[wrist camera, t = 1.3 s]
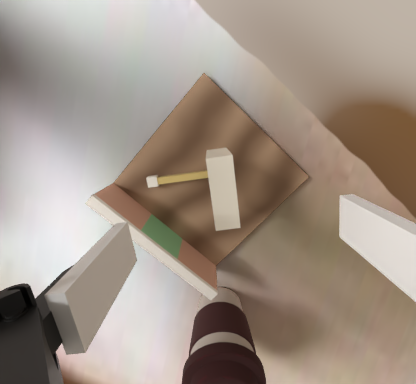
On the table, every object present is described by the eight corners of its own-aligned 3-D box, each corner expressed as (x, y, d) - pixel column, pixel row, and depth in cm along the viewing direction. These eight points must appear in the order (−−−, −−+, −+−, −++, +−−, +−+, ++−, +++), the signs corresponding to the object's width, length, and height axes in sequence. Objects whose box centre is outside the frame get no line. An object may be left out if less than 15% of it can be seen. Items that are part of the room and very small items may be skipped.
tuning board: (110, 188, 35) (106, 190, 34) (204, 74, 31) (204, 72, 30) (209, 268, 39) (209, 272, 38) (305, 175, 35) (309, 176, 34)
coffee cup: (234, 270, 39) (249, 354, 25) (256, 315, 41) (282, 416, 27) (180, 291, 40) (164, 384, 26) (205, 334, 42) (203, 441, 28)
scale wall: (108, 189, 34) (85, 203, 28) (113, 182, 34) (91, 195, 28) (210, 271, 38) (210, 300, 31) (216, 265, 37) (218, 294, 31)
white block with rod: (224, 144, 32) (232, 155, 21) (230, 193, 34) (240, 227, 23) (144, 155, 33) (109, 171, 21) (154, 203, 35) (127, 241, 23)
